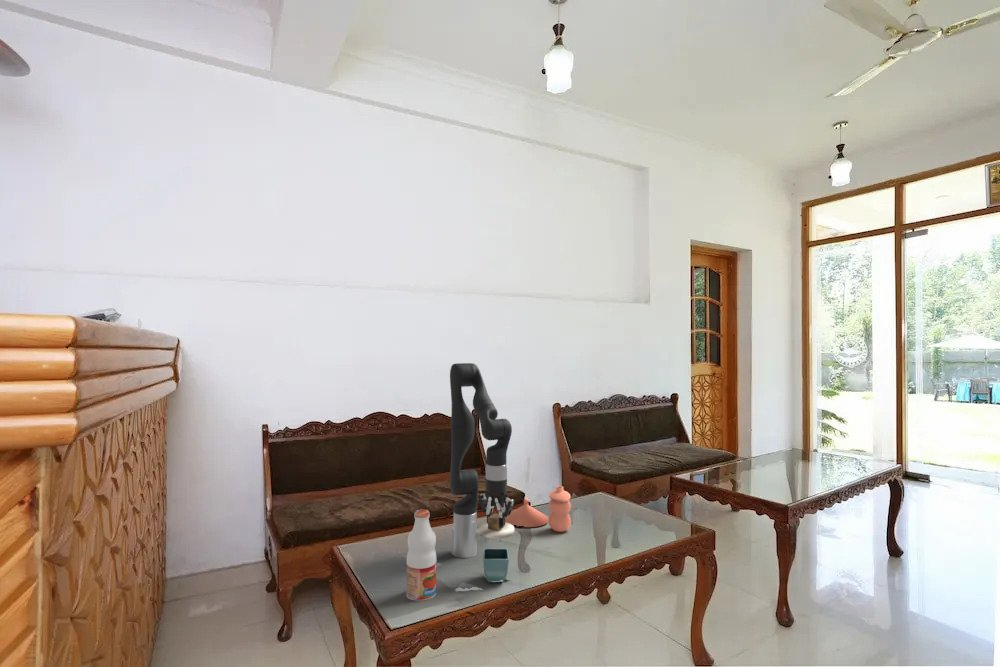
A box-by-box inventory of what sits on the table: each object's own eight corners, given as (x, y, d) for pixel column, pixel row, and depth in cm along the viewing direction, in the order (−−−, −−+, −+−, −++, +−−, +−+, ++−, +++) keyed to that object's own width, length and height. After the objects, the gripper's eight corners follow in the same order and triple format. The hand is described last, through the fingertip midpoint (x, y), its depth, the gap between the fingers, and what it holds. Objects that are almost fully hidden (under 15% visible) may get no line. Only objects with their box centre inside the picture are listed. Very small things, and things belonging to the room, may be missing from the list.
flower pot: (507, 573, 175) (507, 548, 175) (508, 585, 166) (509, 559, 166) (483, 573, 175) (483, 548, 175) (482, 586, 166) (483, 559, 166)
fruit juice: (412, 591, 162) (412, 506, 162) (439, 593, 161) (440, 507, 161) (401, 606, 153) (402, 516, 153) (431, 609, 151) (431, 517, 152)
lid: (469, 533, 168) (469, 518, 168) (489, 521, 180) (489, 507, 180) (502, 541, 162) (502, 526, 162) (521, 528, 173) (521, 514, 173)
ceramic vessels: (494, 518, 229) (494, 478, 229) (523, 507, 244) (524, 469, 244) (554, 540, 205) (554, 494, 205) (582, 526, 220) (583, 484, 220)
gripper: (473, 476, 171) (472, 525, 171) (508, 482, 164) (508, 534, 164) (484, 471, 178) (484, 519, 178) (519, 477, 170) (519, 526, 170)
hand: (495, 526), depth 171 cm, fingers closed on lid, 4 cm apart
